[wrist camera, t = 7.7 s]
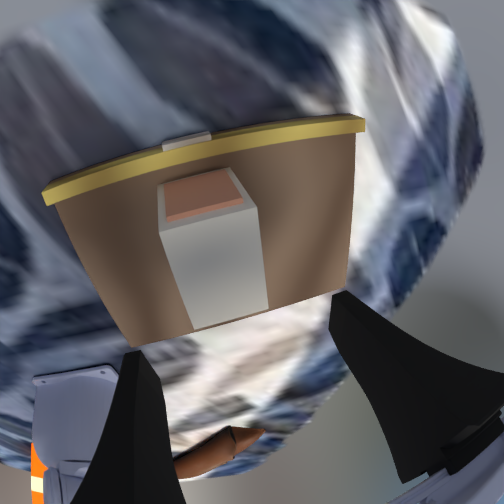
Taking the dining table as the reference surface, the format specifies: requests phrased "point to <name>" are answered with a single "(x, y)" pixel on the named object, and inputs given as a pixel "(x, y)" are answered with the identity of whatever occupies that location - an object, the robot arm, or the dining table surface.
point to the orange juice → (37, 477)
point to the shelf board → (258, 188)
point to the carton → (213, 246)
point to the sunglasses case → (216, 451)
